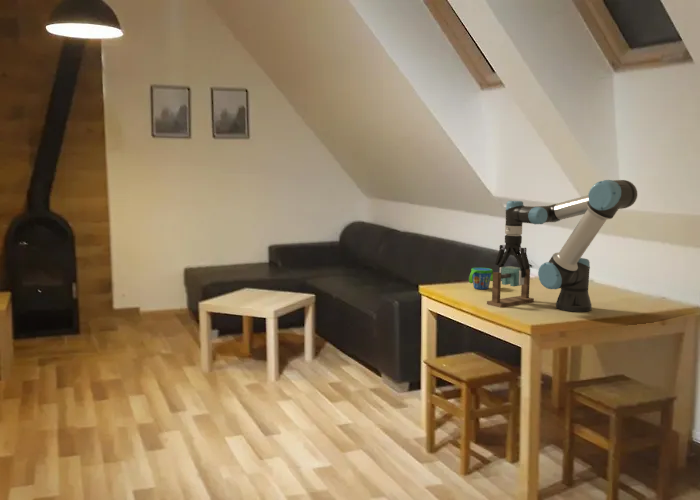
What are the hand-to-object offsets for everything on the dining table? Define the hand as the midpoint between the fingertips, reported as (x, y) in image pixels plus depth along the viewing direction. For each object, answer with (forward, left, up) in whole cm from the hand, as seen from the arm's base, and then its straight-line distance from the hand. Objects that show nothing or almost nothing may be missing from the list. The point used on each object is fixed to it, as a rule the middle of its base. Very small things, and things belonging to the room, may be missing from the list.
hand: (511, 282), depth 332 cm
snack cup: (+33, -16, -10) cm, 38 cm away
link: (0, 0, -1) cm, 1 cm away
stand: (0, 0, -9) cm, 9 cm away
